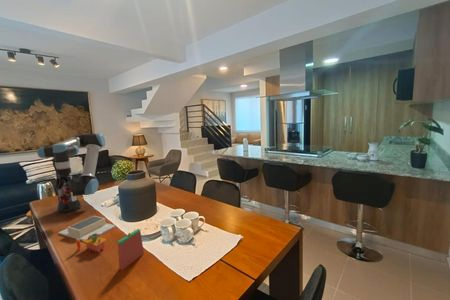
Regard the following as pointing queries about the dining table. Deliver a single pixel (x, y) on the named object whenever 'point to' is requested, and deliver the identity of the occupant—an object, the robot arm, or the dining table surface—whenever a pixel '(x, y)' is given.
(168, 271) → the dining table surface
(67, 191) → the toy fire truck
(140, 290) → the dining table surface
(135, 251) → the toy building block set
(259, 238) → the dining table surface
